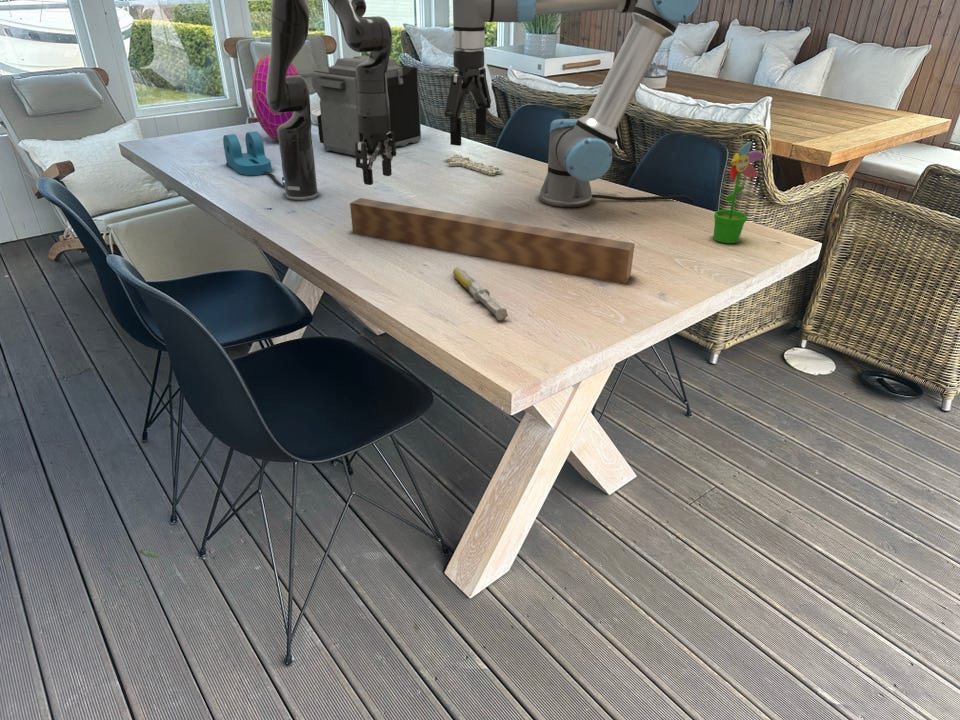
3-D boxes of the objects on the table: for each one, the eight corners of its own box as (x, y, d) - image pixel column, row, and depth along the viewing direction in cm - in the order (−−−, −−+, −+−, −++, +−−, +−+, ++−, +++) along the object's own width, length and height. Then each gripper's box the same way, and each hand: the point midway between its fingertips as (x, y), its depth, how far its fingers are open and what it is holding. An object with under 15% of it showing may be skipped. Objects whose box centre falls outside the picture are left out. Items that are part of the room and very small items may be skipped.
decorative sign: (435, 158, 239) (457, 153, 245) (435, 161, 240) (457, 156, 245) (485, 174, 222) (507, 169, 228) (485, 177, 223) (507, 172, 228)
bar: (630, 276, 155) (634, 243, 151) (625, 284, 152) (629, 250, 148) (362, 227, 181) (360, 198, 177) (352, 233, 178) (350, 202, 173)
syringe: (449, 274, 155) (449, 263, 153) (465, 272, 156) (464, 260, 154) (490, 323, 135) (491, 310, 133) (508, 319, 136) (508, 307, 134)
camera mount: (227, 164, 233) (221, 132, 227) (257, 160, 238) (252, 129, 233) (244, 176, 220) (239, 143, 215) (276, 172, 225) (271, 139, 220)
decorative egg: (293, 132, 276) (283, 50, 261) (319, 140, 264) (310, 56, 249) (249, 139, 265) (236, 54, 250) (273, 148, 253) (261, 60, 238)
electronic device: (383, 133, 276) (378, 52, 261) (425, 141, 265) (422, 56, 250) (314, 150, 251) (304, 61, 235) (358, 160, 240) (350, 67, 224)
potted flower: (724, 247, 171) (744, 145, 158) (701, 237, 177) (720, 137, 164) (751, 241, 175) (774, 141, 162) (728, 231, 181) (748, 134, 168)
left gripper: (376, 105, 168) (380, 171, 176) (342, 115, 157) (348, 185, 165) (402, 107, 165) (405, 174, 174) (370, 118, 154) (375, 189, 163)
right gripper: (479, 43, 177) (478, 128, 188) (428, 54, 158) (431, 147, 169) (505, 45, 174) (502, 131, 185) (457, 56, 155) (457, 151, 166)
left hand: (378, 179), depth 169 cm, fingers open, 8 cm apart
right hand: (468, 139), depth 177 cm, fingers open, 13 cm apart
